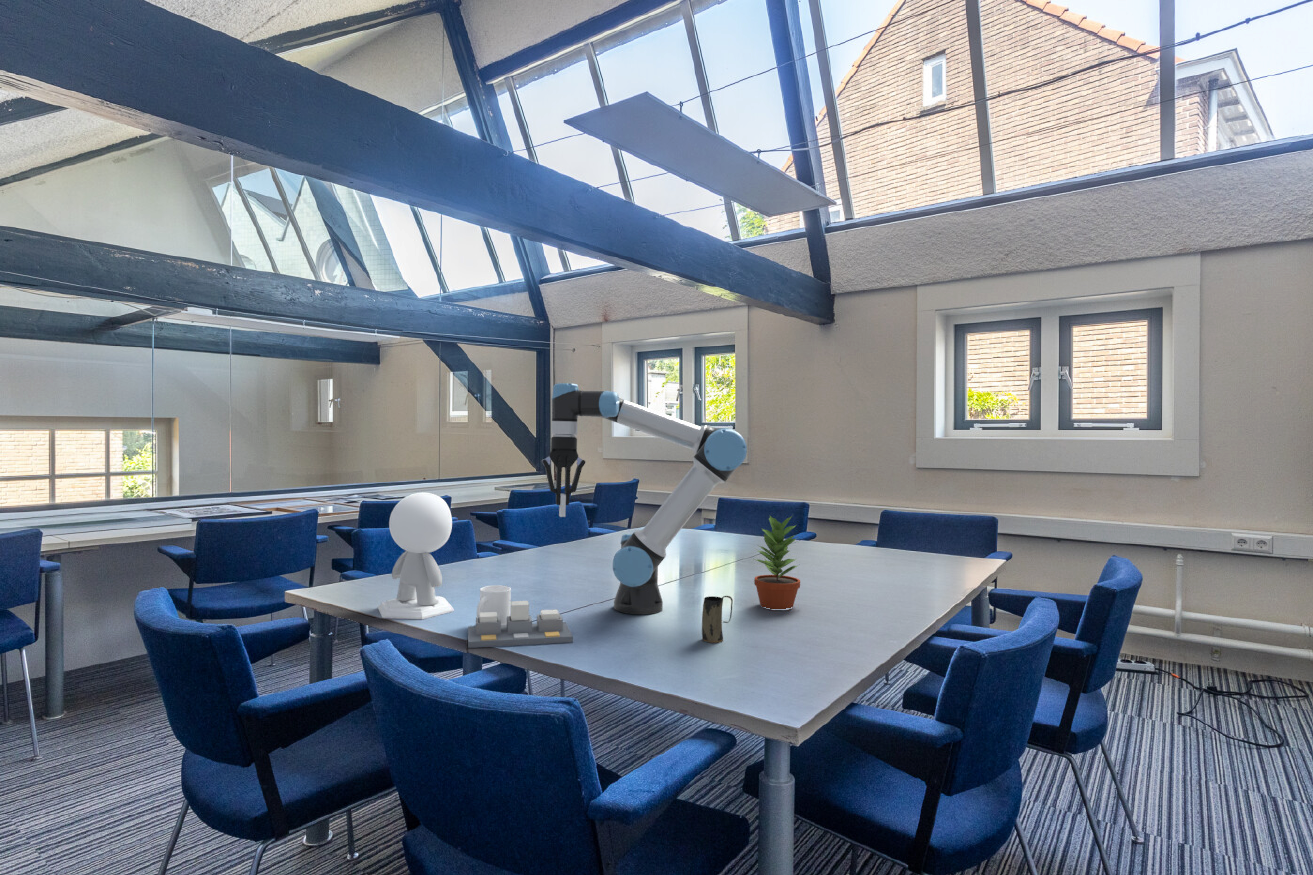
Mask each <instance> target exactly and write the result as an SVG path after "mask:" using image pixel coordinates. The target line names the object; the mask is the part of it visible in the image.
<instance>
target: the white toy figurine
mask: <svg viewBox="0 0 1313 875" xmlns="http://www.w3.org/2000/svg"><path fill="white" fill-rule="evenodd" d="M452 518H453V517H452V513H451V509H450V507H449V504H447V502H446V500H445V499H443V498H442V497H441V496H439V495H437V494H435V493H431V492H425V491H424V492H422V491H421V492H415V493H412V494H409V495H407V496H405V497H403V498H402V499H401V500H399V502H398V503H396V504H395V506H394V507H393V509H392V510H391V513H390V516H389V521H388V526H389V533H390V535H391V537H392V539H393V541H394V543H396V545H398V547H400V548H401V549H403V550H404V552H402V554H401V555H399V557H398V558H397V560H396V562H395V563H394V565H393V567H392V571H391V577H392V579H393V580H398V579H399V583H398V588H397V595H396V596H397V597H396V598H393V599H388V600H386V601H382V602H380V604H379V605H378V606H377V608H378V612H379V614H380V616H381V618H382V619H399V620H400V619H401V620H424V619H425V620H427V619H429V618H433V617H438V616H441V615H445V614H448V613H449V614H450V613H453V612H454V611H455V609H454V607H453V606H452V605H451V604H450V602H449V601H448V600H447V599H446V597H443V596H439V595H436V590H435V588H440V587H442V586H443V585H442V584H443V576H442V572H441V570H440V567H439V565H438V564H437V561H436V560H435V558H434V557H433V556H432V554H431V553H432V552H433V553H434V552H435V551H437V550H439V549H441V548H442V547H443V546H444V545H445V544H446V543H447V542H448V540H449V539H450V535H451V533H452V530H453V529H452V527H453V519H452Z"/></svg>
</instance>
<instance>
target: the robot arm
mask: <svg viewBox="0 0 1313 875" xmlns="http://www.w3.org/2000/svg"><path fill="white" fill-rule="evenodd" d="M578 417H591V418H593V417H594V418H595V417H596V418H597V417H598V418H602V419H605V420H607V421H610V422H613V423H618V424H620V425H623V426H625V427H627V428H630V429H633V430H637V431H640V432H642V433H644V434H648V435H650V436H653V437H656V438H659V439H660V440H664V441H667V442H670V443H672V444H675V445H678V446H681V447H684V448H687V449H688V450H691V451H693V453H694V456H693V457H692V458H693V459H692V461H693V466H692V467H691V468H690V469H689V470H688V471H687V473H686V474H685V476H684V477H683V478H682V479H681V481H680V482H679V483H678V484H677V486H675V488H674V490H672V492H671V493H670V494H669V496H668V497H667V498H666V499H665V501H664V502H663V503H662V504H661V505H660V507H659V508H658V509H657V511H656V512H655V513H654V515H653V516H652V517H651V518H650V520H649V521H648V522H647V524H646V525H645V526H644V527H643V528H642V529H638V530H634V531H633V533H632V534H628V533H626V534H622V536H621V538H620V548H619V550H618V551H617V552H616V553H615V554H614V556H613V559H612V571H613V572H612V573H613V574H614V576H615V579H616V580H617V581H619V585H618V589H617V592H616V593H615V598H614V600H613V609H614V610H615V611H617V612H620V613H622V614H628V615H629V614H630V615H648V614H649V615H650V614H656V613H660V612H661V611H663V608H664V606H663V604H664V602H663V599H662V595H661V592H660V588H659V585H658V581H659V578H658V576H659V572H658V571H659V566H660V565H661V563H662V562H663V561H664V560H665V558H666V557H667V551H666V549H667V547H668V546H669V545H670V544H671V543H672V541H673V540H674V538H675V537H676V536H677V534H679V532H680V531H681V530H682V528H684V526H685V525H686V524H687V522H688V521H689V520H690V518H691V517H692V516H693V515H694V513H695V512H696V511H697V510H698V508H699V507H700V506H701V504H703V502H704V501H705V499H707V497H708V496H709V495H710V493H711V492H712V491H713V489H714V488H716V486H717V485H718V484H724V483H726V482H727V481H728V480H729V478H730V476H732V475H733V473H734V472H735V470H736V469H737V468H738V467H740V466H741V465H742V464H743V462H744V461H745V459H746V457H747V453H748V452H747V451H748V448H747V443H746V440H745V439H744V437H743V436H742V434H740V433H739V432H738V431H736V430H735V429H732V428H729V427H725V428H717V427H713V426H709V425H707V424H705V425H703V426H700V425H697V424H694V423H691V422H689V421H686V420H682V419H679V418H678V417H674V416H671V415H670V414H669V415H668V414H666V413H663V412H660V411H657V410H655V409H651V408H648V407H646V406H643V405H640V404H637V403H634V402H632V401H628V400H626V399H623V398H620V397H619V393H618V392H617V391H610V390H580V389H579V385H578V384H576V383H568V382H567V383H564V382H560V383H555V384H554V385H553V387H552V397H551V435H553V436H551V437H550V451H549V454H548V456H547V457H546V458H544V459H542V460H541V463H542V465H543V466H544V469H545V475H546V479H547V483H548V488H549V491H550V492H552V493H554V494H555V505H556V506H558V507H559V508H558V512H559V513H558V516H559V517H560V518H566V513H567V512H566V511H567V510H566V509H567V508H566V507H567V506H570V494H572V493H575V492H577V488H578V484H579V480H580V477H581V473H582V469H583V467H584V466H585V465H586V460H584V459H582V458H580V457H579V453H578V450H577V449H578V438H577V437H576V436H577V435H578ZM551 462H552V464H554V466H555V469H556V472H555V473H556V477H555V480H556V481H555V484H554V480H553V479H554V478H553V475H552V470H551V466H550V465H551ZM575 463H576V468H575V472H574V476H573V480H572V484H571V470H572V469H571V468H572V466H573V465H574V464H575ZM563 468H564V493H562V470H563Z"/></svg>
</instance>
